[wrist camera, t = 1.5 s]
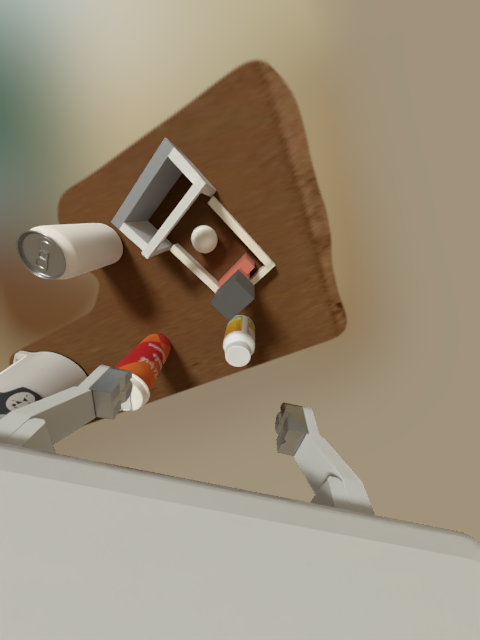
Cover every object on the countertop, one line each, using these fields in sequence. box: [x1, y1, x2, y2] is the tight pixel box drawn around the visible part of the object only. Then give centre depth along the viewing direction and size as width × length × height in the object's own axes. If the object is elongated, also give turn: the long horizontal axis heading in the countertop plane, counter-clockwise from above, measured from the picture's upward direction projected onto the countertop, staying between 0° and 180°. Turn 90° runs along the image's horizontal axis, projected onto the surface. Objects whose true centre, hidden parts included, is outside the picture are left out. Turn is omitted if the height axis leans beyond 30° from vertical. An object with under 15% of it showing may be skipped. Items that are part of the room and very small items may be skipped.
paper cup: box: [115, 333, 171, 411], centre depth 38 cm, size 8×8×14 cm
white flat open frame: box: [170, 196, 275, 293], centre depth 34 cm, size 10×13×2 cm
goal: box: [111, 137, 217, 259], centre depth 29 cm, size 12×6×8 cm, turn 135°
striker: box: [211, 253, 255, 321], centre depth 30 cm, size 6×3×14 cm, turn 135°
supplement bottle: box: [223, 315, 255, 367], centre depth 37 cm, size 5×5×10 cm
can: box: [16, 223, 123, 280], centre depth 30 cm, size 6×6×12 cm
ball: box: [191, 225, 218, 253], centre depth 32 cm, size 4×4×4 cm
